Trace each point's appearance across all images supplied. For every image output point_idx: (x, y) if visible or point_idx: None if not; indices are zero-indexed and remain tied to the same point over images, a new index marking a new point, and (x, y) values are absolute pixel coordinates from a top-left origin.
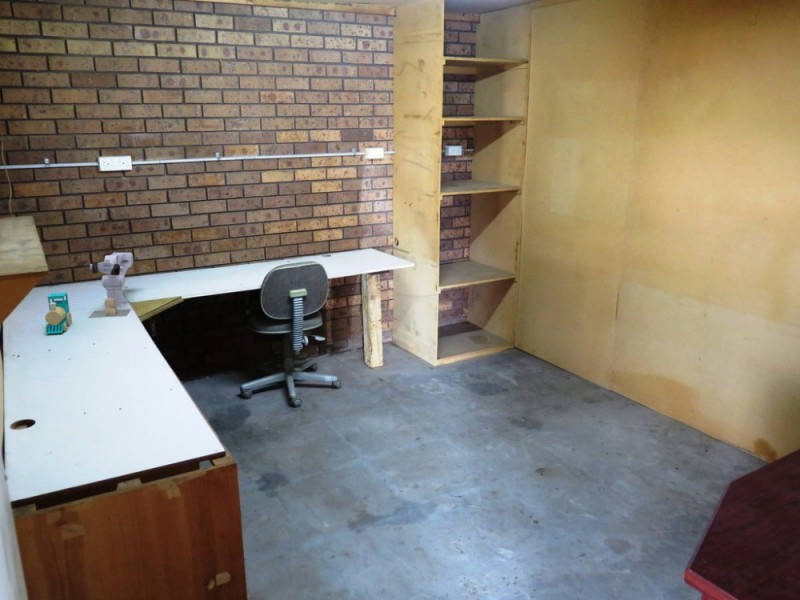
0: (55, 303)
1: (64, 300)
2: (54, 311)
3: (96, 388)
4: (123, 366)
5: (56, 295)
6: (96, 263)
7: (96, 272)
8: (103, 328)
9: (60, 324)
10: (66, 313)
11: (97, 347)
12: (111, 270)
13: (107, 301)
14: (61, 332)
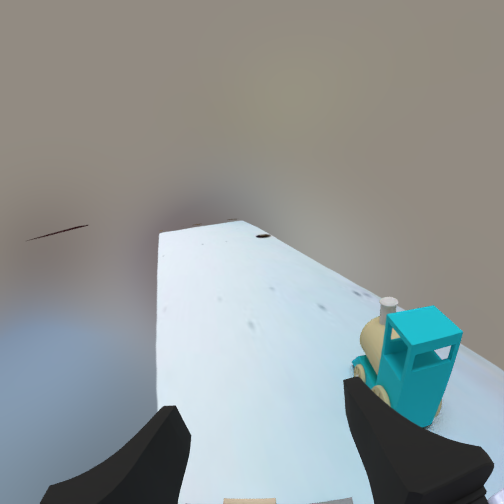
0: (379, 301)
1: (385, 333)
2: (376, 317)
3: (223, 255)
4: (199, 277)
5: (415, 314)
6: (415, 471)
7: (374, 499)
8: (254, 402)
9: (364, 357)
10: (380, 378)
11: (241, 314)
12: (169, 410)
13: (260, 501)
14: (352, 361)
